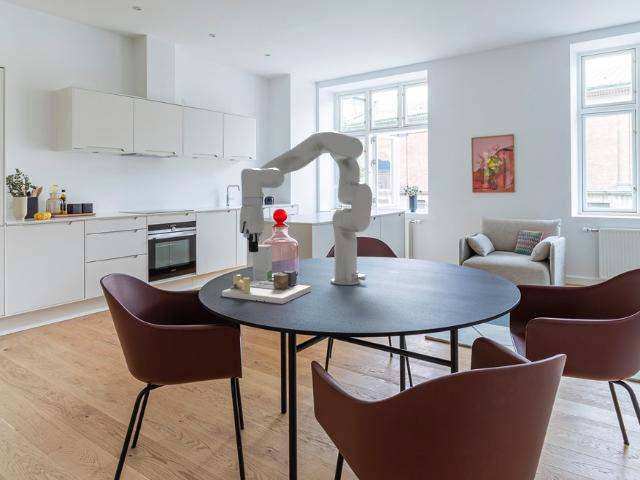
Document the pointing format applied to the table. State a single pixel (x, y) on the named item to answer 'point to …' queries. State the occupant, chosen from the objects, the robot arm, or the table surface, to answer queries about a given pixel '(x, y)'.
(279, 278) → the walnut slider
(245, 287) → the brass lever
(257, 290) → the panel
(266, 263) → the skincare box
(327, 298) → the table surface
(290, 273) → the gray slider
